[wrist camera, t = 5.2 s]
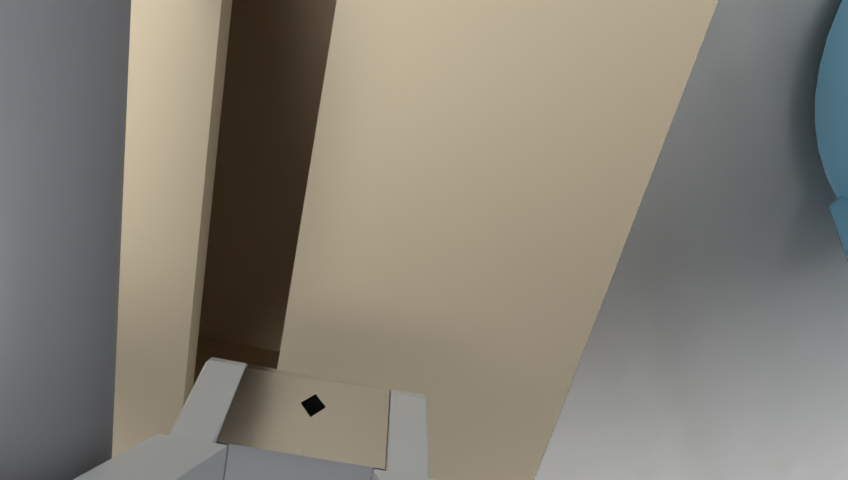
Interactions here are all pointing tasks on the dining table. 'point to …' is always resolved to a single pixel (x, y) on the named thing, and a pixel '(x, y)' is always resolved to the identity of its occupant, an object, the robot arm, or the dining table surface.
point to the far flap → (102, 221)
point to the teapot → (835, 118)
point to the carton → (437, 198)
